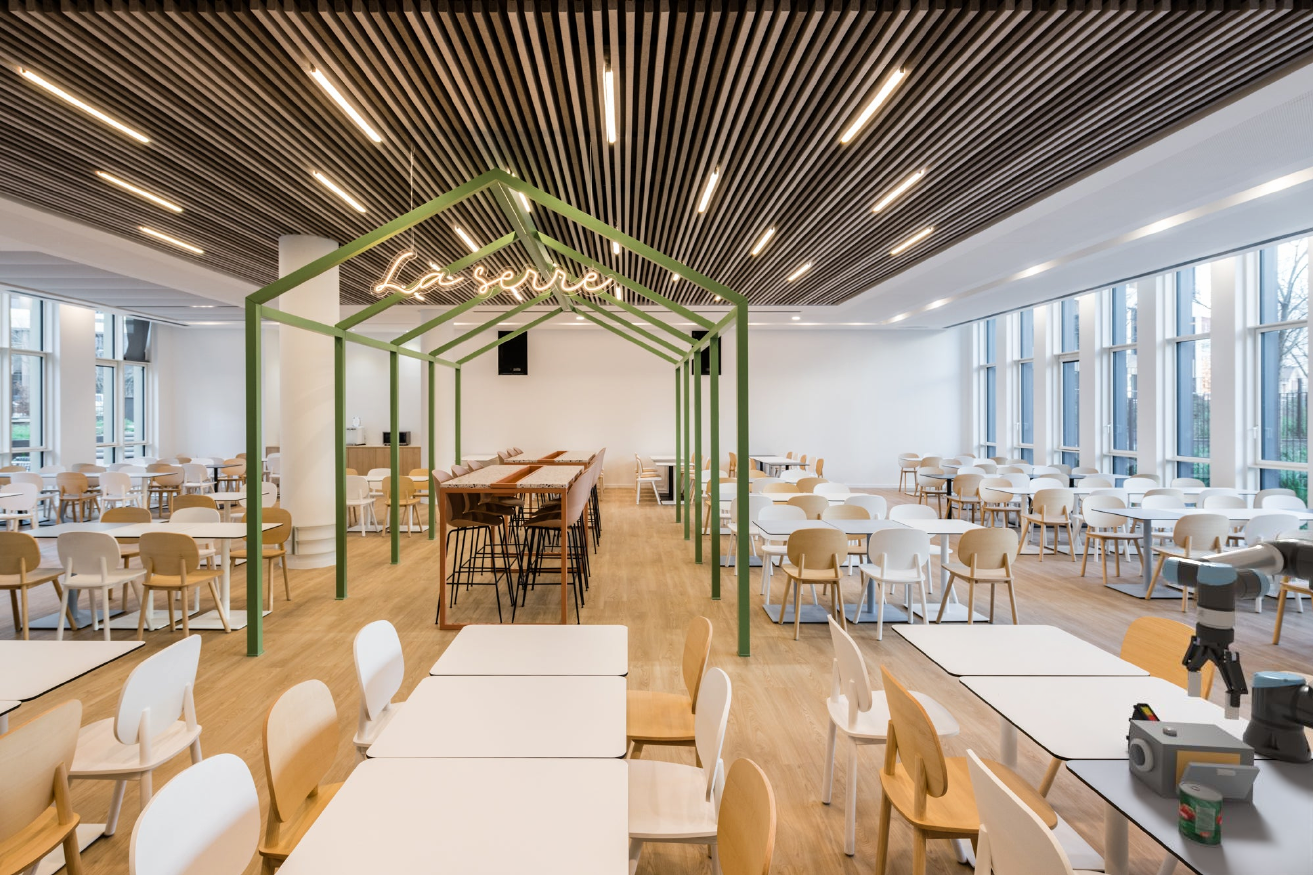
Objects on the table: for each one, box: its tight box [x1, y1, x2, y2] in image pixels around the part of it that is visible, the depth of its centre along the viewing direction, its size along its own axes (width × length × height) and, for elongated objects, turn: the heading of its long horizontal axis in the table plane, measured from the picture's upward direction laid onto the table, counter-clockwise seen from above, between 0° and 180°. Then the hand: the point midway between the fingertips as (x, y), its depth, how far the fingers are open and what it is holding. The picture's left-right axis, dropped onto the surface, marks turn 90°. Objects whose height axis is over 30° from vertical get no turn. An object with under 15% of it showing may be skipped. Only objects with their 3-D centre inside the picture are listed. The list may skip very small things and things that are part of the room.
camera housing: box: [1128, 720, 1255, 804], centre depth 180 cm, size 24×14×15 cm, turn 84°
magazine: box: [1125, 702, 1162, 749], centre depth 194 cm, size 4×13×15 cm, turn 177°
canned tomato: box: [1177, 782, 1223, 848], centre depth 157 cm, size 8×8×11 cm
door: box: [1175, 762, 1261, 799], centre depth 169 cm, size 2×16×11 cm, turn 84°
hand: (1212, 707), depth 170 cm, fingers open, 13 cm apart
